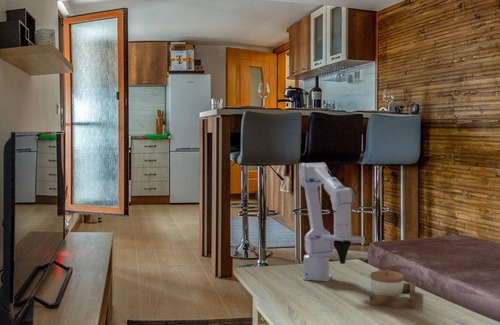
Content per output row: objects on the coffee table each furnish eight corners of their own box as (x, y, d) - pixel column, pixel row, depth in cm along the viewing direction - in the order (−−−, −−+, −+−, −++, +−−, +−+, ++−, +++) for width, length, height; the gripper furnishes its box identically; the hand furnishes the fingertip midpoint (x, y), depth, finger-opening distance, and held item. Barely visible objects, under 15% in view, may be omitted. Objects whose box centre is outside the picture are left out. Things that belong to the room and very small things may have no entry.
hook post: (376, 289, 173) (376, 272, 173) (377, 286, 178) (377, 269, 177) (383, 290, 172) (383, 273, 172) (384, 286, 177) (384, 270, 176)
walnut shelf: (369, 304, 158) (369, 295, 158) (374, 288, 175) (374, 280, 175) (414, 308, 153) (414, 299, 153) (415, 291, 170) (415, 283, 170)
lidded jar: (404, 294, 168) (404, 267, 167) (403, 304, 157) (403, 275, 157) (372, 291, 171) (371, 264, 171) (368, 301, 161) (368, 272, 161)
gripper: (319, 224, 168) (319, 264, 169) (362, 226, 163) (363, 267, 164) (322, 221, 175) (323, 259, 175) (365, 222, 170) (365, 262, 171)
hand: (342, 263), depth 170 cm, fingers closed
